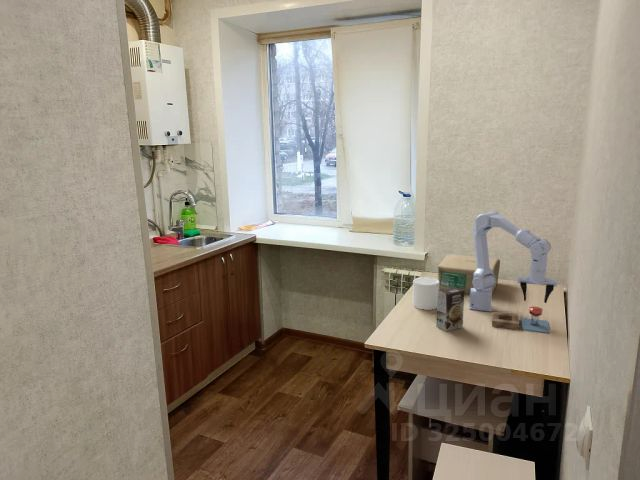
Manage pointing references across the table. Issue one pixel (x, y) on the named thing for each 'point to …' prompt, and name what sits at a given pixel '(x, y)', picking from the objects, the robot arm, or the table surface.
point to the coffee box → (450, 308)
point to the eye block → (505, 320)
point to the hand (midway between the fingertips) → (535, 301)
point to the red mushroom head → (535, 315)
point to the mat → (540, 328)
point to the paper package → (462, 272)
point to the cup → (425, 293)
